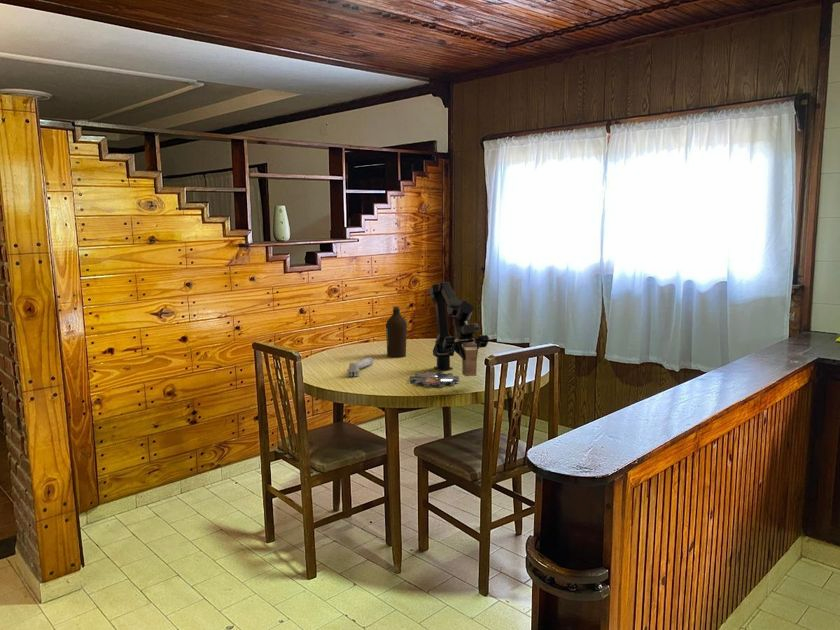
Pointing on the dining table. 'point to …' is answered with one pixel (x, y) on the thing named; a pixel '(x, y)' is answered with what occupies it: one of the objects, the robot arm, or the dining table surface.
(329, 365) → the dining table surface
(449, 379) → the sprocket plate
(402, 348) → the olive oil
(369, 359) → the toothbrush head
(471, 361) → the link block
